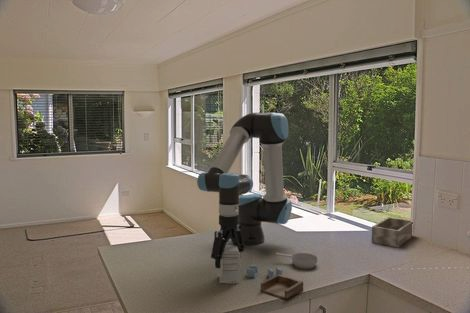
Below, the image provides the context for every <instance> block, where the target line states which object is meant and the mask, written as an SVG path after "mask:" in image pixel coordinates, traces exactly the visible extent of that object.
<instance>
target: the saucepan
mask: <svg viewBox="0 0 470 313" xmlns="http://www.w3.org/2000/svg"><path fill="white" fill-rule="evenodd" d="M275 255H277V256H282V257H288V258H291V261H292V263H293V265H294V266H295V267H296V268H300V269H306V270H307V269H308V268H309V269H313V268H314V267H316V265H317V263H318V259H319V258H318V256H317V255H315V254H312V253H306V252H299V253H294V254H286V253H282V252H281V253H280V252H275Z"/></svg>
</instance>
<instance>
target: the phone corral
mask: <svg viewBox="0 0 470 313" xmlns="http://www.w3.org/2000/svg"><path fill="white" fill-rule="evenodd" d="M411 221H412V220H409V219H404V218H403V219H402V218H396V217H390V216H389V217H387V218H385V219H384V220H381V221H380V222H377V223H376V224H374V225H373V226H371V243H374V244H380V245H385V246H391V247H394V248H399V247H401V246H402V245H403V244H405V243H406V242H407V241H408V240H409V239H411V238H412V237H413V236H412V224H413V222H411ZM411 236H412V237H411Z"/></svg>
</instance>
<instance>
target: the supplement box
mask: <svg viewBox="0 0 470 313" xmlns="http://www.w3.org/2000/svg"><path fill="white" fill-rule="evenodd" d="M221 259H223V276H222V277H220V276H218V279H219V280H218V282H219V284H221V283H226V284H239V283H240V279H239V277H240V276H239V274H240V272H239V271H240V269H239V250H238V247H237V246H236V245H233V244H226V246H225V249H224V252H223V255H222V258H221Z"/></svg>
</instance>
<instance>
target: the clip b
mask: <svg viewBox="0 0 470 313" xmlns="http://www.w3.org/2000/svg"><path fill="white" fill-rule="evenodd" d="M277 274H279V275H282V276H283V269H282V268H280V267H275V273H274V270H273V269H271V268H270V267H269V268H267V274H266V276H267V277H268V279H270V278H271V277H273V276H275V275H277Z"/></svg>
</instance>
